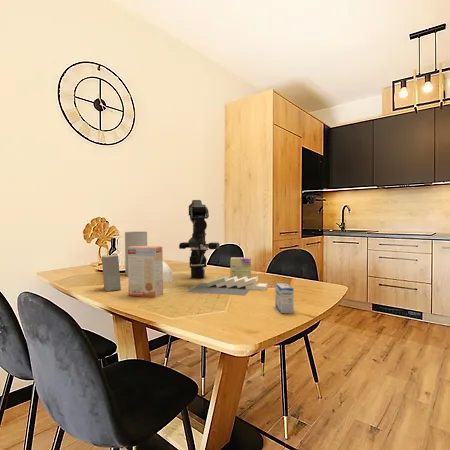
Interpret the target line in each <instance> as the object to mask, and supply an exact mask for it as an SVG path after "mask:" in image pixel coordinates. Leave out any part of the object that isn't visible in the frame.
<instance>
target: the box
mask: <svg viewBox="0 0 450 450" xmlns="http://www.w3.org/2000/svg"><path fill="white" fill-rule="evenodd" d="M251 260H252V258H251V257H230V265H229V266H230V267H229V269H230V272H229V273H230V277H229V278H232V277H235V276H237V278H238V279H240V278H243V277H245V276H247V278H248V279H250V278H252V275H251V274H252V268H251V267H252V266H251V265H252V263H251Z"/></svg>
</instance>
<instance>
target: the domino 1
mask: <svg viewBox="0 0 450 450" xmlns="http://www.w3.org/2000/svg"><path fill="white" fill-rule="evenodd" d="M229 278H230V277H229V275H225V276H223V277H218V278H216V279H213V280H210V281H209V282H206V283H207V286H208V287H210V286H213V285H216V284H218V283H221V282H224V281H226V280H228V279H229Z"/></svg>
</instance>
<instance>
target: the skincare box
mask: <svg viewBox="0 0 450 450" xmlns="http://www.w3.org/2000/svg"><path fill="white" fill-rule="evenodd" d="M101 264H102V276H103V277H102V278H103V289H104V290H105V292H112V291H120V290H121V289H122V286H121V275H120V274H121V273H120V260H119V255H117V254H110V255H102V256H101Z"/></svg>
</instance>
